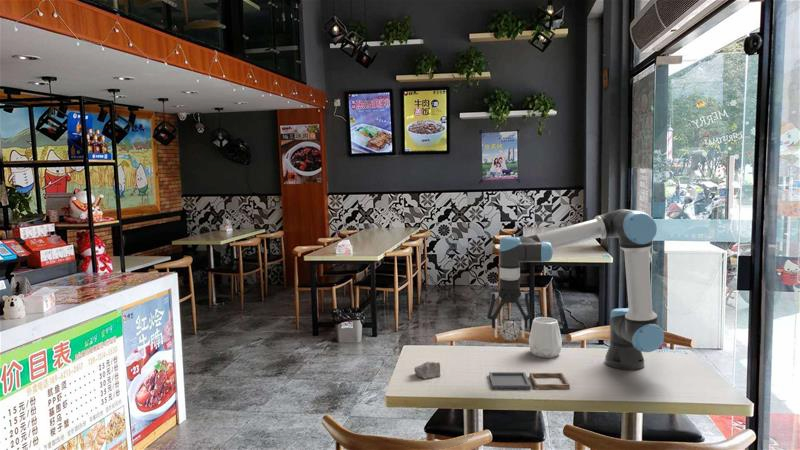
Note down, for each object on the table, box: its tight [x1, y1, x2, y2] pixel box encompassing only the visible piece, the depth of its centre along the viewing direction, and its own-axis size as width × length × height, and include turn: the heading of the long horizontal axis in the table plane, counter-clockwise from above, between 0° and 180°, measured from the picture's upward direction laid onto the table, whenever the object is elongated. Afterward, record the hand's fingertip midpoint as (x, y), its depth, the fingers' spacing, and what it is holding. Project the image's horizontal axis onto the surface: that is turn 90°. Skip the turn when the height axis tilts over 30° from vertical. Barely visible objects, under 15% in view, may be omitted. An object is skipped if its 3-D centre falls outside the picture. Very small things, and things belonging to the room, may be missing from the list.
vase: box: [528, 316, 563, 359], centre depth 262 cm, size 14×14×15 cm
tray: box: [488, 371, 532, 390], centre depth 230 cm, size 14×14×2 cm
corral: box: [529, 372, 571, 390], centre depth 230 cm, size 13×13×2 cm
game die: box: [497, 319, 522, 344], centre depth 228 cm, size 9×8×10 cm
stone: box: [414, 361, 442, 380], centre depth 239 cm, size 10×8×6 cm
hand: (509, 336), depth 229 cm, fingers closed on game die, 9 cm apart
